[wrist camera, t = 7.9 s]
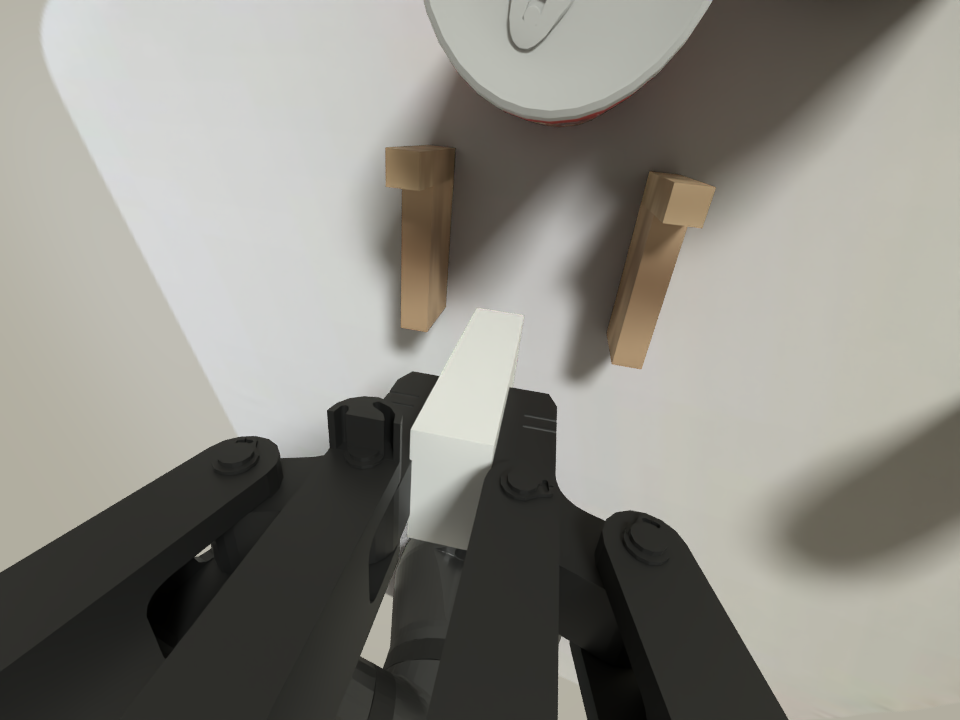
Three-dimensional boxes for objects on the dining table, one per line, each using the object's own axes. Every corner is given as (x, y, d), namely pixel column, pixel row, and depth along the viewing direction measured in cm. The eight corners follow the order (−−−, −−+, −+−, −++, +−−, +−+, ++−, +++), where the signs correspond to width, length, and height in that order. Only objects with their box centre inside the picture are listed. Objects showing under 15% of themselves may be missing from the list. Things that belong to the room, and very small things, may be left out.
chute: (631, 337, 25) (647, 389, 20) (422, 303, 27) (387, 343, 22) (680, 174, 21) (716, 187, 16) (428, 145, 23) (385, 147, 17)
